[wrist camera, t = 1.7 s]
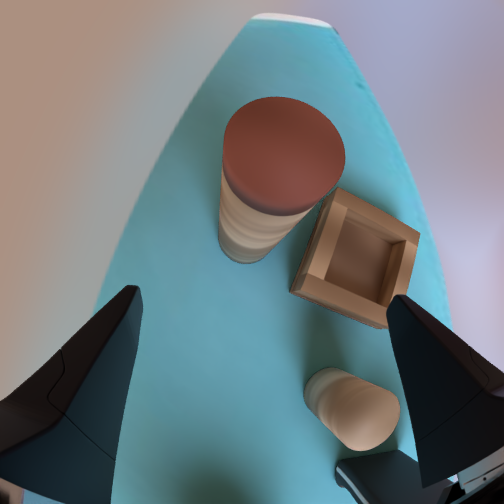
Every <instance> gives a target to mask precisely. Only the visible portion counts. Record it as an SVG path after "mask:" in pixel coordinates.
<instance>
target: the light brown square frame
mask: <svg viewBox="0 0 504 504" xmlns="http://www.w3.org/2000/svg"><path fill="white" fill-rule="evenodd" d="M419 237H420V233H419V232H418V231H416V230H414V229H413V228H411V227H409V226H408V225H406V224H404V223H403V222H401V221H399V220H398V219H396V218H394V217H392V216H391V215H389V214H387V213H385V212H384V211H382V210H380V209H378V208H376V207H375V206H373V205H371V204H369V203H367V202H366V201H364V200H362V199H360V198H358V197H356V196H354V195H352V194H350V193H349V192H347V191H345V190H343V189H341V188H339V187H337V188H336V189H335V190H334V191H333V192H332V193H331V194H330V195H329V196H327V197H326V198H325V199H324V201H323V204H322V206H321V209H320V212H319V215H318V218H317V220H316V223H315V226H314V229H313V231H312V234H311V237H310V240H309V242H308V245H307V248H306V250H305V253H304V256H303V258H302V261H301V263H300V266H299V269H298V271H297V274H296V276H295V279H294V281H293V284H292V287H291V289H290V292H289V293H291V294H294V295H296V296H299V297H301V298H303V299H306V300H308V301H310V302H313V303H315V304H318V305H320V306H322V307H325V308H327V309H330V310H332V311H334V312H337V313H339V314H342V315H344V316H347V317H349V318H351V319H354V320H356V321H359V322H361V323H364V324H366V325H369V326H371V327H374V328H376V329H382V328H383V329H389V328H388V323H387V318H386V310H387V308H388V306H389V304H390V302H391V301H392V299H393V297H394V296H395V295H396V294H405V295H406V293H407V289H408V285H409V281H410V278H411V274H412V269H413V265H414V261H415V257H416V252H417V247H418V242H419Z"/></svg>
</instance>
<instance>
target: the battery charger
mask: <svg viewBox="0 0 504 504" xmlns="http://www.w3.org/2000/svg"><path fill="white" fill-rule="evenodd" d="M336 470H337V472H336V483H337V485H338V486H340V487H345V488H346V489H347V490H348V491H349V492H350V493H351V495H352V496H353V498H354V499H355V500H356V502H357V503H358V504H437V502H438V500H439V498H440V496H441V493H442V491H443V489H444V488H445V487H447V486H449V485H451V484H453V482H452V481H450V480H448V479H445V480H443V481H440V482H438V483H436V484H434V485H431V486H429V487H427V488H424V489H423V488H422V484H421V477H420V470H419V463H418V462H417V461H415V460H414V459H412V458H411V457H409V456H407V455H406V454H405V453H403V452H402V451H400V450H396V451H391V452H386V453H380V454H375V455H369V456H363V457H357V458H351V459H345V460H341V461H340V462H339V465H338V466H337V468H336Z"/></svg>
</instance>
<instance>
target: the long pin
mask: <svg viewBox="0 0 504 504" xmlns="http://www.w3.org/2000/svg"><path fill="white" fill-rule="evenodd" d="M344 165H345V149H344V144H343V142H342V139H341V136H340V134H339V133H338V131H337V129H336V128H335V126H334V125H333V124H332V122H331V121H330V120H329V119H328V118H327V117H326V116H325V115H324V114H322V113H321V112H320V111H319V110H317V109H315V108H314V107H312V106H310V105H308V104H306V103H304V102H301V101H299V100H295V99H292V98H286V97H266V98H261V99H257V100H254V101H252V102H249V103H248V104H246V105H244V106H243V107H241V108H240V109H239V110H238V111H237V112H236V113H235V114H234V115H233V116H232V118H231V119H230V121H229V123H228V125H227V127H226V130H225V135H224V146H223V160H222V176H221V193H220V211H219V232H218V240H219V244H220V247H221V249H222V251H223V252H224V254H225V255H226V256H227V257H228V258H230V259H231V260H233V261H235V262H237V263H241V264H251V263H255V262H257V261H259V260H261V259H262V258H264V257H265V256H266V255H267V254H268V253H269V252H270V251H271V250H272V249H273V248H274V247H275V246H276V245H277V244H278V243H279V242H280V241H281V240H282V239H283V238H284V237H285V236H286V235H287V234H288V233H289V232H290V231H291V230H292V228H293V227H294V226H295V225H296V224H297V223H298V222H299V221H300V220H301V219H302V218H303V217H304V216H305V215H306V214H307V213H308V212H309V211H310V210H311V209H312V208H313V207H314V206H315V205H316V204H317V203H318V202H319V201H320V200H321V199H322V198H323V197H324V196H325V195H326V194H327V193H328V192H329V191H330V190H331V189H332V188H333V186H334V185H335V184H336V183H337V182H338V180H339V179H340V177H341V175H342V172H343V170H344Z"/></svg>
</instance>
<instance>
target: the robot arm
mask: <svg viewBox="0 0 504 504" xmlns="http://www.w3.org/2000/svg"><path fill="white" fill-rule="evenodd" d="M142 313H143V302H142V297H141V291H140V288H139V286H136V285H127V286H125V287H124V288H123V289H122V290H121V291H120V292H119V293H118V294H117V295H115V296H114V297H113V298H112V299H111V300H110V301H109V302H108V303H107V304H106V305H105V306H104V307H102V308H101V309H100V310H99V311H98V312H97V313H96V314H95V315H94V316H93V317H92V318H91V319H90V320H89V321H88V322H87V323H86V324H85V325H84V326H83V327H82V328H81V329H79V331H77V332H76V333H75V334H74V335H73V336H72V337H71V338H70V339H69V340H68V341H67V342H66V343H65V344H64V345H63V346H62V347H61V349H59V350H58V351H57V352H56V353H55V354H54V355H53V356H52V357H51V358H50V359H49V360H48V361H47V362H46V363H45V364H44V365H43V366H42V367H41V368H40V369H39V370H37V371H36V372H35V373H34V374H33V375H32V376H31V377H29V378H28V379H27V380H26V381H25V382H23V383H22V384H21V385H20V386H19V387H18V388H17V389H15V390H14V391H13V392H12V393H11V394H10V395H8V396H7V397H6V398H4V399H3V400H1V401H0V504H111V494H112V485H113V477H114V469H115V460H116V454H117V448H118V442H119V436H120V430H121V424H122V419H123V414H124V409H125V404H126V399H127V394H128V389H129V384H130V380H131V376H132V371H133V367H134V363H135V358H136V354H137V349H138V342H139V334H140V327H141V320H142ZM386 318H387V323H388V328H389V333H390V338H391V343H392V348H393V352H394V356H395V359H396V363H397V366H398V370H399V374H400V378H401V381H402V385H403V389H404V393H405V397H406V402H407V406H408V410H409V415H410V419H411V424H412V429H413V434H414V439H415V445H416V451H417V457H418V463H419V470H420V477H421V484H422V488H423V489H424V488H427V487H429V486H431V485H434V484H436V483H438V482H440V481H443V480H445V479H447V478H449V477H451V476H453V475H455V474H457V477H458V481H457V482H455V483H453V484H451V485H449V486H447V487H445V488H444V489H443V491H442V493H441V496H440V498H439V500H438V502H437V504H504V373H503V372H502V371H501V370H499V369H498V368H497V367H495V366H494V365H493V364H491V363H490V362H489V361H487V360H486V359H485V358H484V357H482V356H481V355H480V354H479V353H477V352H476V351H475V350H474V349H473V348H472V347H470V346H468V344H467V343H466V342H464V341H463V340H462V339H461V338H459V337H458V336H457V335H456V334H455V333H453V332H452V331H451V330H450V329H448V328H447V327H446V326H445V325H444V324H442V323H441V322H440V321H439V320H437V319H436V318H435V317H434V316H432V315H431V314H430V313H428V312H427V311H426V310H425V309H423V308H422V307H421V306H419V305H418V304H417V303H416V302H414V301H413V300H412V299H410V298H409V297H408V296H406V295H405V294H396V295H395V296H394V297H393V299H392V301H391V302H390V304H389V306H388V308H387V310H386Z"/></svg>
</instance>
